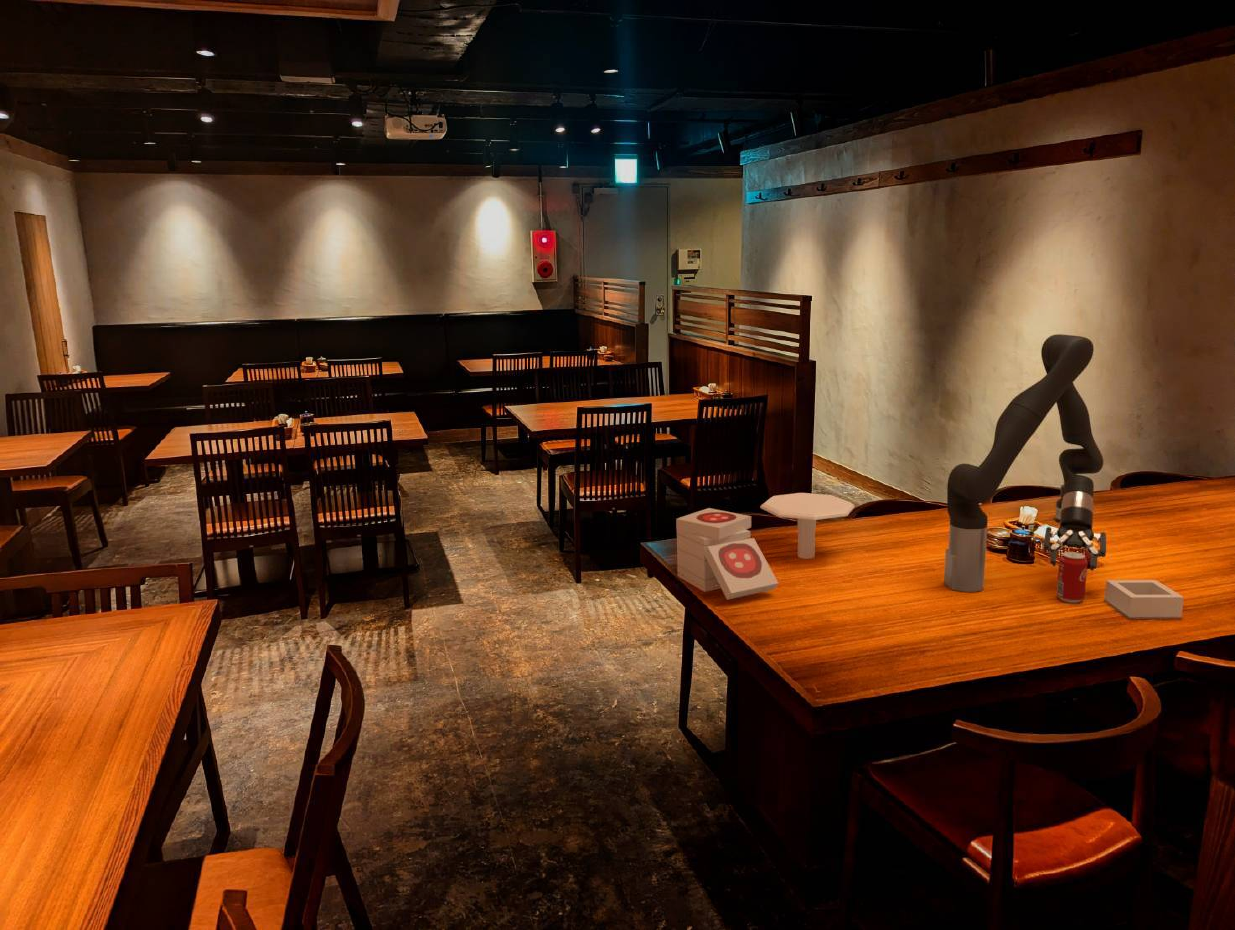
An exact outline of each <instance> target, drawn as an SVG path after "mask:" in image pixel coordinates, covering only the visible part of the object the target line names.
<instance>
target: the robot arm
mask: <svg viewBox="0 0 1235 930" xmlns="http://www.w3.org/2000/svg"><path fill="white" fill-rule="evenodd" d="M1040 353H1041V355H1040V356H1041V360H1042V364H1043V367H1044V370H1045V373H1046V375H1044V377H1042V378H1041V379H1040V380H1038V381H1037V382H1035V383H1034V384H1032V385H1031V386H1029V387H1027V388H1026V389H1025V390H1023V391H1021V392H1020V393H1018V394H1017V395H1016V396H1014V398H1013V399H1011V401H1010V402H1009V403H1008V405H1007V406H1006V408H1005V409H1004V410H1003V411H1002V412H1001V414H1000V416H999V417H998V420H997V422H996V426H995V429H994V430H995V432H994V438H993V443H992V447H991V449H990V451H989V453H988V454H987V456H986V457H985V459H983V461H982V462H981V464H979V466H977V465H974V464H971V463H961V464H960V463H959V464H957V465H955V466H954V467H953V468H952V469H951V471H950V473H949V476H948V479H947V488H946V495H947V496H946V501H947V503H946V509H947V513H948V516H949V517H948V518H949V532H948V535H949V536H948V547H947V548H946V549H945V555H944V556H945V558H944V573H943V574H944V576H943V583H944V584H945V585H946V586H947V587H948V589H949V590H950V591H959V592H965V593H976V592H980V591H982V590H983V589H984V585H985V569H986V555H987V554H986V551H987V540H988V539H987V538H988V537H987V536H988V535H987V534H988V520H989V518H988V515H987V514H986V513H985V511H983V509H982V508H981V505H980V504H983V503H985V502H987V501H989V500H990V499H991V498H992V497H993V496H994V495H995V494H996V492H997V490H998V489H999V487H1000V486H1001V484H1002V482H1003V480H1004V479H1005V477H1006V475H1007V473H1008V472H1009V470H1010V468H1011V466H1012V464H1013V463H1014V461H1015V460H1016V459H1017V457H1018V456H1019V454H1020V453H1021V451H1022V450H1023V449H1024V447H1025V445H1027V443H1028V441H1030V438H1031V437H1032V436H1033V435H1034V434H1035V432H1036V431H1037V430H1038V428H1039V427H1040V426H1041V424H1042V423H1043V421H1044V420H1045V418H1046V417H1047V416H1048V414H1049V412H1050V411H1051V410H1052V409H1053V407H1054V406H1055V405H1056V407H1057V410H1058V411H1057V412H1058V415H1059V421H1060V422H1059V423H1060V428H1061V436H1062V438H1063V441H1064V442H1065V443H1067V444H1068V445H1075V446H1080V448H1079V447H1078V448H1067V449H1064V450H1063V451H1062V452H1061V453H1060V454H1059V457H1058V464H1059V466H1060V471H1061V473H1062V477H1063V478H1062V479H1063V485H1064V494H1063V500H1062V505H1061V517H1060V522H1059V528H1058V529H1053V528H1052V527H1051V526H1047V527H1046V529H1045V535H1044V539H1043V547H1042V548H1043V549H1042V550H1044V551H1045V552H1049V553H1050V555H1049V557H1050V558H1049V563H1050V564H1051V565H1052V567H1056V565H1057V564H1056V563H1057V555H1058V554H1057V553H1058V551H1060V550H1062V549H1063V548H1065V547H1067V548H1070V549H1071V548H1076V549H1082V548H1084V550H1085V551H1086V552H1087V553H1088V554H1089V555H1090V564H1089V568H1090V569H1089V571H1092V572H1094V569H1097V567H1098V558H1100V557H1101V558H1105V557H1106V554H1107V536H1106V535H1107V534H1106V532H1105V531H1101V532H1100V533H1094V532H1093V521H1094V505H1095V504H1094V490H1095V485H1094V484H1095V483H1094V480H1093V479H1091V478H1090V477H1089V476H1086V475H1090V474H1091V475H1092V474H1097V473H1099V472H1100V471H1101V470H1102V469H1103V466H1104V457H1103V455H1102V452H1101V451H1100V449H1099V447H1098V444H1097V443H1096V441H1095V439H1094V436H1093V431H1092V426H1091V417H1090V412H1089V410H1088V407H1087V405H1086V403H1085V401H1084V399H1083V398H1082V396H1081V395H1080V393H1079V391H1078V389H1077V388H1076V386H1075V384H1074V382H1075V381H1076V379H1078V377H1079V376H1081V374H1082V373H1083V372H1084V371H1085V369H1086V368H1087V367H1088V366H1089V364H1090V362H1091V361H1092V359H1093V355H1094V344H1093V342H1092V340H1091V339H1089V338H1087V337H1086V336H1085V337H1084V336H1081V335H1072V334H1070V335H1069V334H1062V333H1061V334H1060V333H1059V334H1052V335H1050V336H1048V337H1047V338H1046V339H1045V340H1044V342H1043V344H1042V346H1041V350H1040ZM1081 447H1082V448H1081ZM1054 536H1057V537H1058V539H1057V540H1056V542H1055V543H1053V544H1052V545H1051V544H1050V543H1051V542H1050V541H1051V539H1052V538H1054ZM1093 539H1094V540H1096V542H1097V543H1099V549H1097V548H1096V546H1094V543H1093V542H1092V541H1093Z"/></svg>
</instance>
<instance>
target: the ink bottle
mask: <svg viewBox="0 0 1235 930" xmlns="http://www.w3.org/2000/svg"><path fill="white" fill-rule="evenodd" d="M1063 494H1064V484H1062V485H1060V495H1059V496H1060V498H1059V499H1057V500H1056V502H1055V512H1054V513H1055V514H1054V519H1055V521H1056V522H1059V523H1060V517H1061V505H1062V500H1063Z"/></svg>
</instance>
